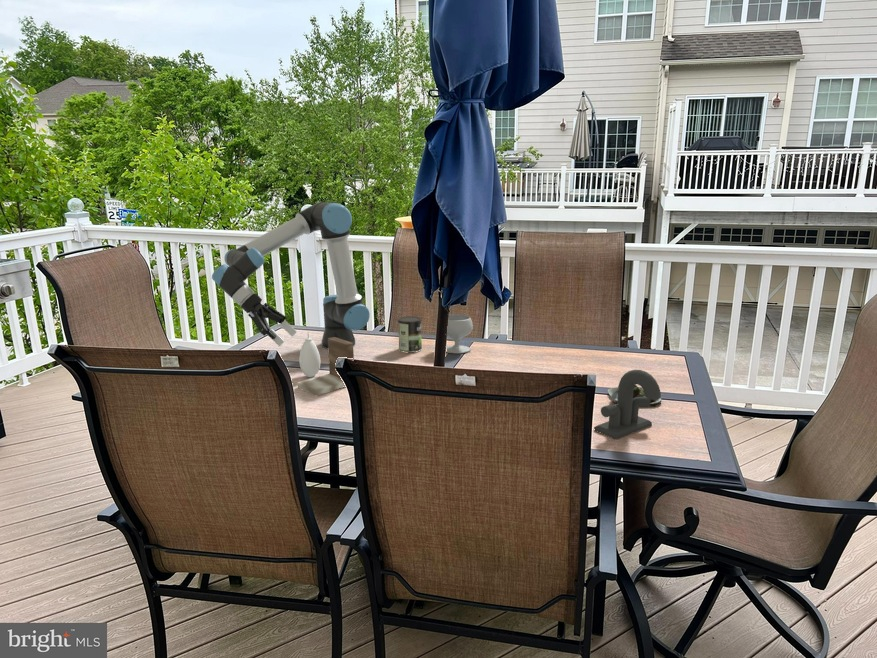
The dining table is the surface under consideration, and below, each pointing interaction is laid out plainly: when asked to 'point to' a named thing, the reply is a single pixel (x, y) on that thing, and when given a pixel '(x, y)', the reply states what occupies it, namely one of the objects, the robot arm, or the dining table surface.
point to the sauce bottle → (309, 358)
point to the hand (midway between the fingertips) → (288, 339)
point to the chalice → (458, 332)
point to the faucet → (629, 405)
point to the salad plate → (636, 393)
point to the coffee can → (410, 334)
